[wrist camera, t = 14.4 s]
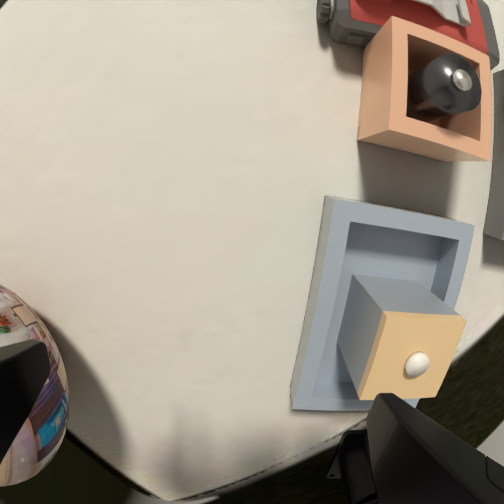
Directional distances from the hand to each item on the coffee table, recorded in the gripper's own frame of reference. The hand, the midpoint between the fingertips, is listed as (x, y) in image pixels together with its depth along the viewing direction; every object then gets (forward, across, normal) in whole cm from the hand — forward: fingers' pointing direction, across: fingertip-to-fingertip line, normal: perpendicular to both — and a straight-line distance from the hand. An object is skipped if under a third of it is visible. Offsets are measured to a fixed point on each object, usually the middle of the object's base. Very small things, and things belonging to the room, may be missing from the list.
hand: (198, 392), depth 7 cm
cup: (+12, -9, -11) cm, 19 cm away
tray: (+12, -9, +2) cm, 15 cm away
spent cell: (+11, -9, -11) cm, 18 cm away
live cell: (+11, -9, +2) cm, 15 cm away
